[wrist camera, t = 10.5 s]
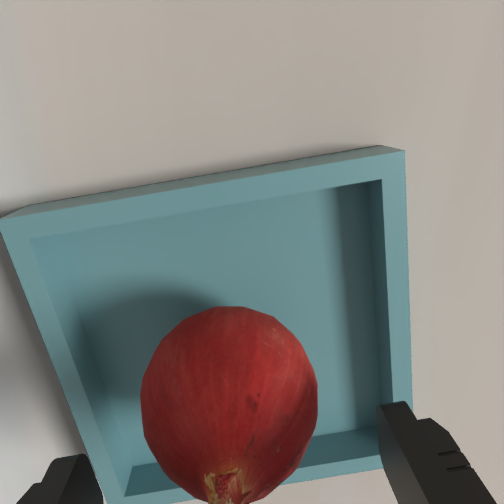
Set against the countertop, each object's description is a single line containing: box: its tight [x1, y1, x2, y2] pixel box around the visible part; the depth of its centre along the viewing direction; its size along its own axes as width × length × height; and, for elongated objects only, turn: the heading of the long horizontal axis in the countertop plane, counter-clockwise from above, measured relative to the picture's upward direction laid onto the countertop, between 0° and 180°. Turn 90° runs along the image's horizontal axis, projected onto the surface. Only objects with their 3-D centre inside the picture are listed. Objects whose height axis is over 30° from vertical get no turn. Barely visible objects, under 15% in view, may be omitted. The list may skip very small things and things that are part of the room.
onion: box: [140, 306, 318, 504], centre depth 13 cm, size 6×6×8 cm
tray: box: [0, 145, 413, 504], centre depth 16 cm, size 14×14×2 cm
